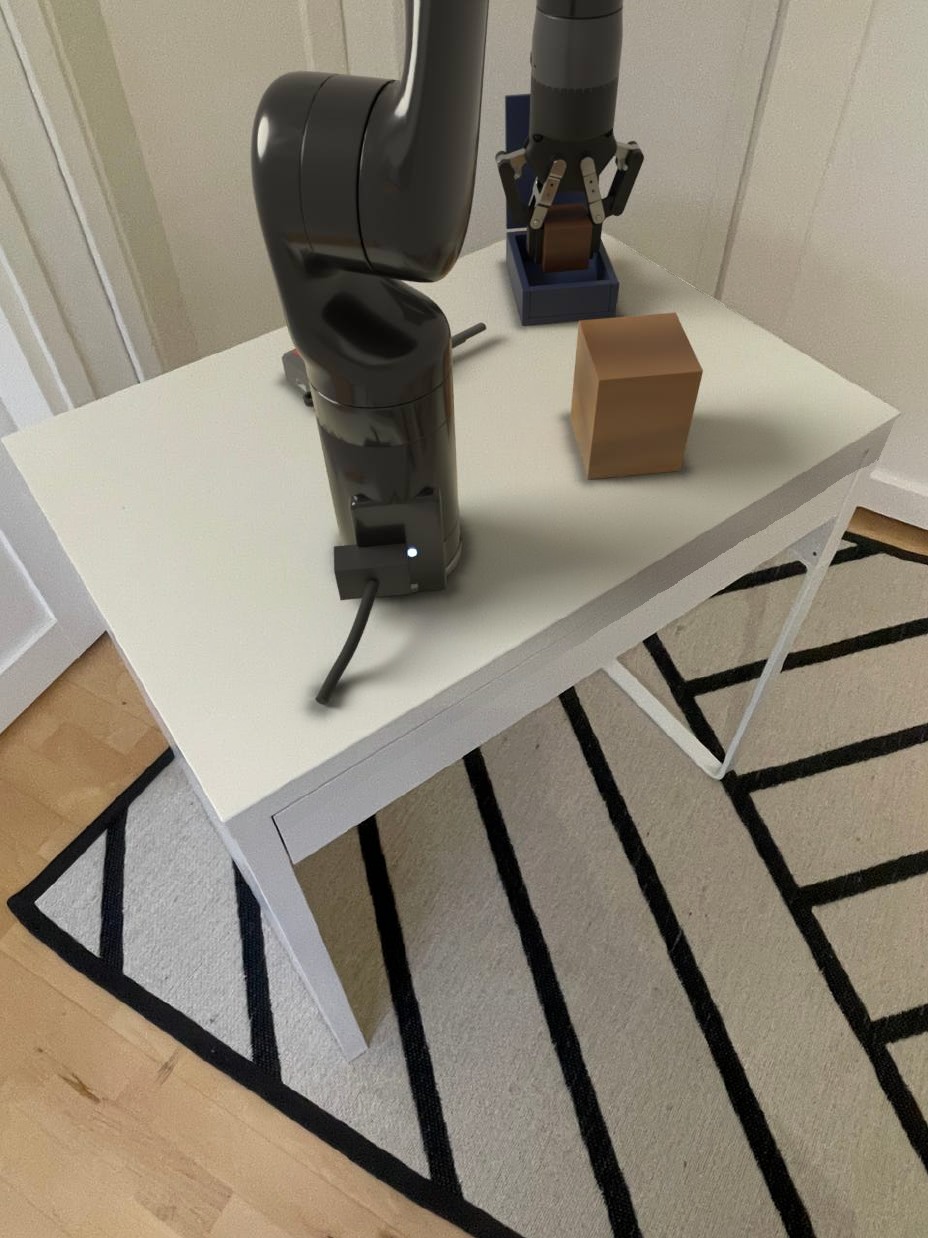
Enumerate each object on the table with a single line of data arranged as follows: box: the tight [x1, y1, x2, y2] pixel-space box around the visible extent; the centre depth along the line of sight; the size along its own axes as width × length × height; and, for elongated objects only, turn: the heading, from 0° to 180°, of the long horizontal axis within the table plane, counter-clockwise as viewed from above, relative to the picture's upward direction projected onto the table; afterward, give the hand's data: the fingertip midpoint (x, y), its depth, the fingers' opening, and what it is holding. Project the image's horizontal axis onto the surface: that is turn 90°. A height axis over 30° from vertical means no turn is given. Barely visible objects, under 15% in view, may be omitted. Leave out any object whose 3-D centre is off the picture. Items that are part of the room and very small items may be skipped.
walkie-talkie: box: [281, 322, 487, 408], centre depth 81 cm, size 9×4×20 cm
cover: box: [504, 93, 600, 230], centre depth 88 cm, size 12×10×5 cm
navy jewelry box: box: [505, 229, 620, 326], centre depth 89 cm, size 12×10×4 cm
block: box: [541, 203, 592, 273], centre depth 85 cm, size 4×4×4 cm
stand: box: [569, 312, 704, 480], centre depth 71 cm, size 8×8×10 cm
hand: (562, 256), depth 86 cm, fingers closed on block, 4 cm apart
